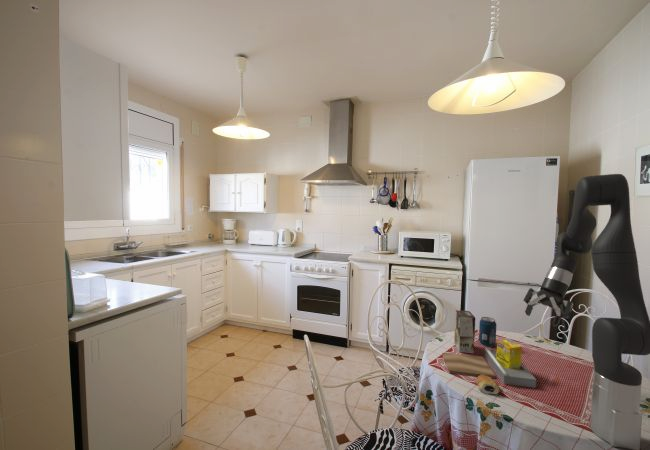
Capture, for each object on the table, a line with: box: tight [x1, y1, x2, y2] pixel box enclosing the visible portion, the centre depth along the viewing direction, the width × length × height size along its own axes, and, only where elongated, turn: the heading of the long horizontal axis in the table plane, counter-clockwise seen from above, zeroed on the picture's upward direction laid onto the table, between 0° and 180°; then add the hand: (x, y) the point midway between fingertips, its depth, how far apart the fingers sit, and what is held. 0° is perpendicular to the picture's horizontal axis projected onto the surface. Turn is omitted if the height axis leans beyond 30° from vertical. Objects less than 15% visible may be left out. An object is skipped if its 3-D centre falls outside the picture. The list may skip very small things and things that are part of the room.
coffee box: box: [454, 309, 476, 354], centre depth 130 cm, size 9×6×16 cm
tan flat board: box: [441, 352, 496, 379], centre depth 115 cm, size 14×16×1 cm
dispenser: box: [484, 346, 537, 389], centre depth 112 cm, size 20×10×4 cm, turn 169°
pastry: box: [476, 374, 500, 395], centre depth 102 cm, size 9×7×4 cm
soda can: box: [478, 316, 497, 348], centre depth 135 cm, size 7×7×12 cm
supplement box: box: [496, 339, 523, 370], centre depth 112 cm, size 6×6×11 cm
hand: (540, 320), depth 108 cm, fingers open, 8 cm apart
